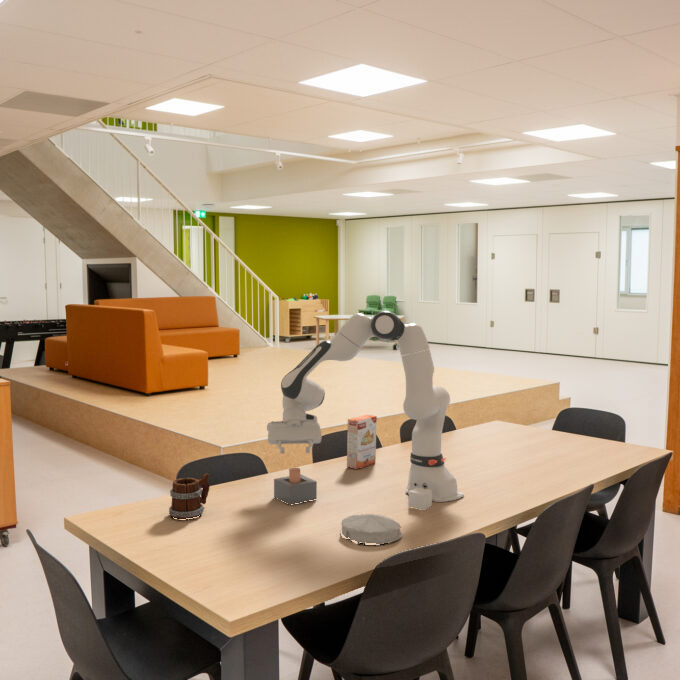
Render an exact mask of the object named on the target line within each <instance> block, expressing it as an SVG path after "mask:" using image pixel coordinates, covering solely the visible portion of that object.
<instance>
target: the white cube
mask: <svg viewBox="0 0 680 680" xmlns="http://www.w3.org/2000/svg"><path fill="white" fill-rule="evenodd" d="M432 505H433V501H432V490H428V489H423V488H418V487H417V488H415V489H413V490H411V491H409V494H408V508H409V507H413V508H417V509H421V510H425V509H427V508H428V509H430V508H431V507H430V506H432ZM429 507H430V508H429ZM428 509H427V510H428ZM421 510H420V511H421ZM425 511H426V510H425Z"/></svg>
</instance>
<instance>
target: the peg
mask: <svg viewBox="0 0 680 680" xmlns="http://www.w3.org/2000/svg"><path fill="white" fill-rule="evenodd" d="M288 471H289V472H288V473H289V474H288V475H289V482H290V483H292V484H294V483H299V482H301V479H300V474H301V468H299V467H291V468H290V467H289V469H288Z"/></svg>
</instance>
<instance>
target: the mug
mask: <svg viewBox="0 0 680 680" xmlns="http://www.w3.org/2000/svg"><path fill="white" fill-rule="evenodd" d="M209 477H210V473H208V472H207V473H205V472H204V474H203V475H202V476H201V477H200V478H199V479H197V478H194V477H186V478H184V477H181V478H177V479H175V480H173V481H172V488H171V489H170V490H169V491H170V492H169V493H170V497H171V505H170V506H169V507H168V514H169V515H170V517H171V516H172V517H174V518H177V519H186V518H193V517H197V516H199V515H201V514H202V515H203V512H204V511H205V506H204V505H205V504H206V503H207V498H208V494H209V491H210V487H211V485H210V481H209ZM200 486H201V487H200ZM202 515H201V516H202Z"/></svg>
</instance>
